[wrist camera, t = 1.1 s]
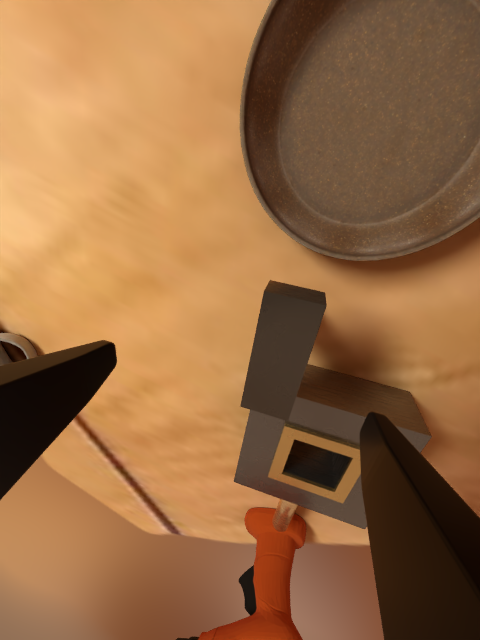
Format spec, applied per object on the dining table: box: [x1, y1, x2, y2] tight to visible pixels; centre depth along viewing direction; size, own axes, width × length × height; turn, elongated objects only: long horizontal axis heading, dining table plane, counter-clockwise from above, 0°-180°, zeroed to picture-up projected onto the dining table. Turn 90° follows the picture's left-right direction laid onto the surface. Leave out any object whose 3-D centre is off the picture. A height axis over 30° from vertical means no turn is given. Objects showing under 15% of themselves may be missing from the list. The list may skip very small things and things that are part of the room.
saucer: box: [240, 0, 480, 261], centre depth 14 cm, size 15×15×3 cm
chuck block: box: [234, 364, 432, 532], centre depth 24 cm, size 12×20×5 cm, turn 171°
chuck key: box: [241, 280, 326, 421], centre depth 17 cm, size 3×7×8 cm, turn 171°
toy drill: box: [176, 508, 306, 640], centre depth 28 cm, size 5×19×15 cm, turn 107°
